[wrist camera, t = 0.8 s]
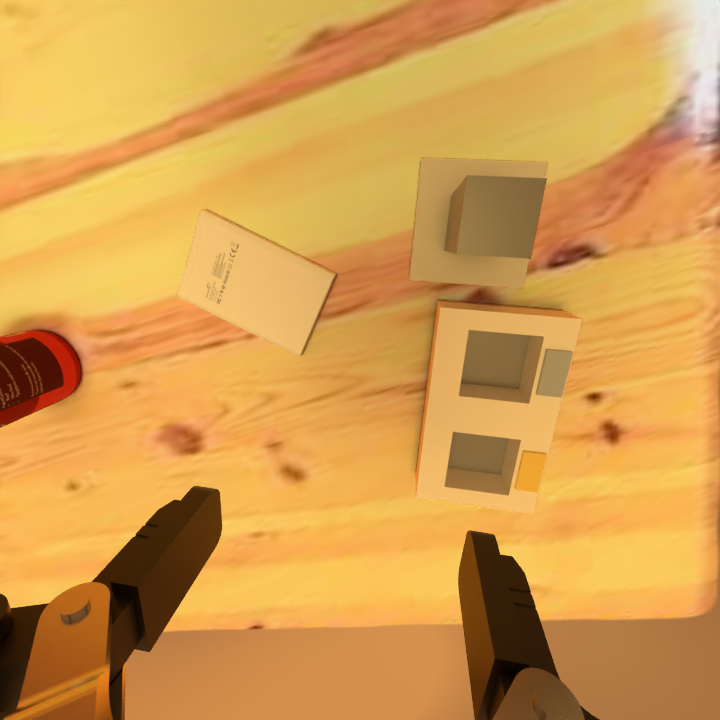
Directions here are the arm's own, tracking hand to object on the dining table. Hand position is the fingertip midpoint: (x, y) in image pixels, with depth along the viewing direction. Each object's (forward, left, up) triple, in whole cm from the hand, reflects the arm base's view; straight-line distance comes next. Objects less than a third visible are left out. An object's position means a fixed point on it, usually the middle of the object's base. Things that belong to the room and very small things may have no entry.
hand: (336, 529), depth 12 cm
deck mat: (-10, +6, -23) cm, 25 cm away
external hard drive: (-4, -12, -23) cm, 27 cm away
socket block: (+4, +9, -23) cm, 25 cm away
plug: (-10, +6, -22) cm, 25 cm away
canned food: (+6, -35, -23) cm, 42 cm away
